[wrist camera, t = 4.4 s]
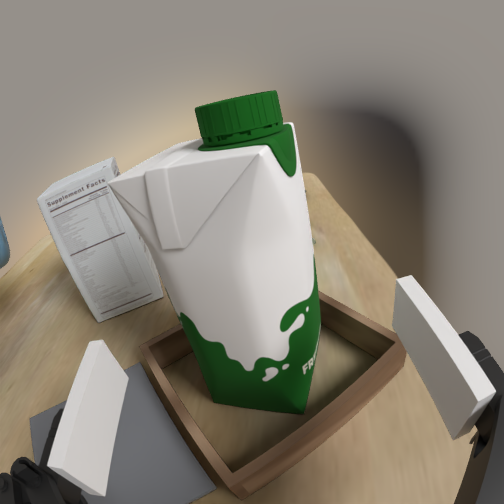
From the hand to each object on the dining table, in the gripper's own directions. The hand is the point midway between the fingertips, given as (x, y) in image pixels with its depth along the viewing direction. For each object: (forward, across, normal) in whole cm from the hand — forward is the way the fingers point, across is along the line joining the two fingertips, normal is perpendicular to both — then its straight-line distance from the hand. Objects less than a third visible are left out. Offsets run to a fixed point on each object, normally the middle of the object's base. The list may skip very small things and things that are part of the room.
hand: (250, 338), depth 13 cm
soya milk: (+7, 0, -11) cm, 13 cm away
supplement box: (+24, -17, -11) cm, 31 cm away
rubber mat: (0, -14, -11) cm, 18 cm away
